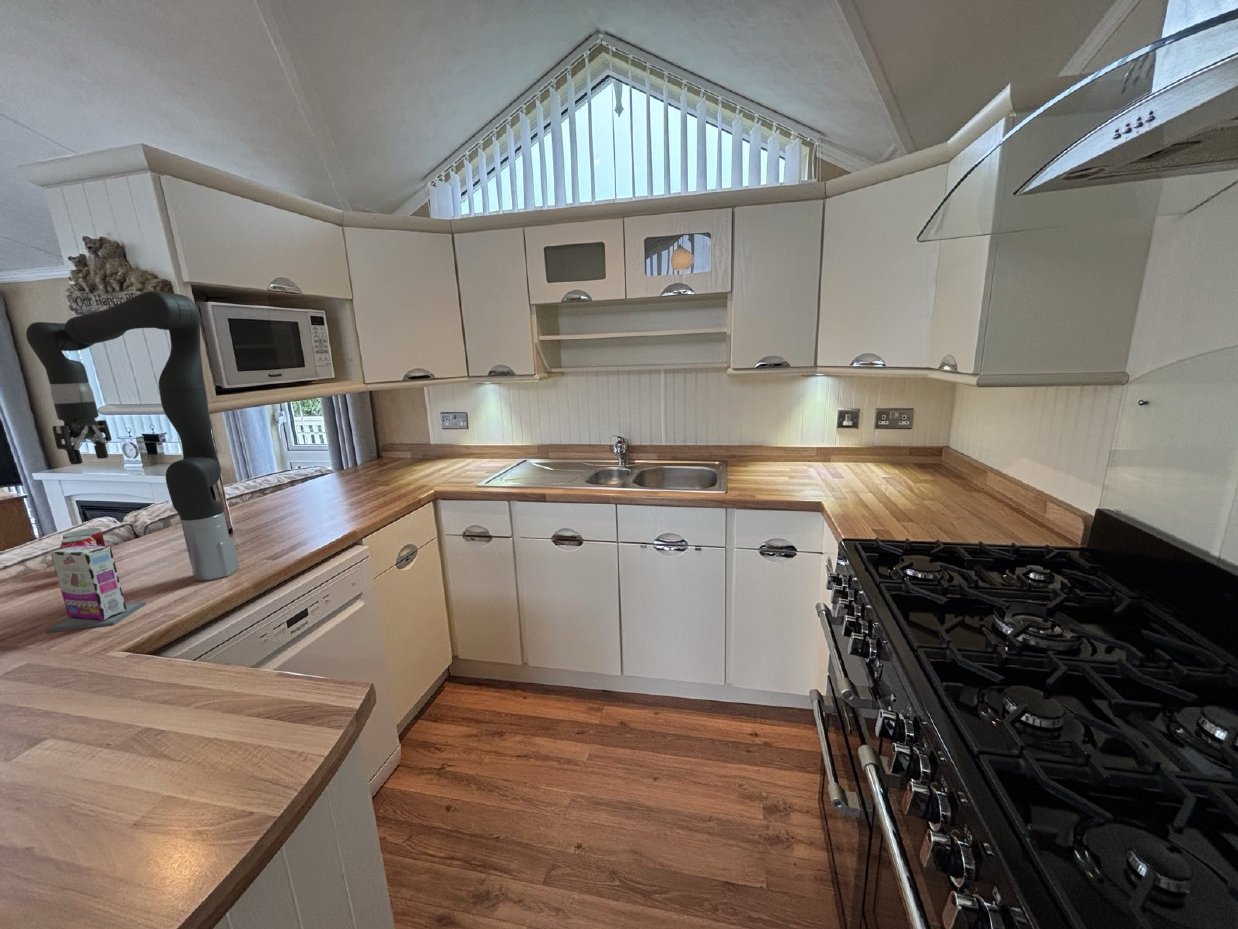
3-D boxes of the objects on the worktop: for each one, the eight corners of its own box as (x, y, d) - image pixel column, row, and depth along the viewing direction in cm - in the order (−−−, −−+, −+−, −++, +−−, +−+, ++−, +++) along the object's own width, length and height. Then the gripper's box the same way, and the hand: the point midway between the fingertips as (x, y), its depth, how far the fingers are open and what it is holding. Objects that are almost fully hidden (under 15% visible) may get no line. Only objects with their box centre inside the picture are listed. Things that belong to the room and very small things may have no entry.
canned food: (82, 564, 150) (72, 530, 148) (116, 560, 153) (107, 526, 151) (65, 574, 143) (54, 538, 141) (101, 569, 146) (91, 533, 143)
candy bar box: (129, 610, 117) (112, 545, 114) (104, 621, 113) (85, 553, 109) (93, 607, 120) (75, 543, 116) (67, 618, 115) (47, 551, 111)
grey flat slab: (145, 604, 122) (145, 601, 122) (114, 624, 112) (113, 621, 112) (83, 611, 119) (82, 608, 119) (45, 633, 110) (44, 630, 110)
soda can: (103, 571, 144) (93, 532, 142) (106, 576, 140) (95, 536, 137) (68, 579, 139) (56, 539, 137) (70, 586, 135) (58, 544, 132)
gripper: (68, 402, 125) (84, 465, 128) (112, 398, 138) (126, 455, 142) (32, 403, 123) (50, 467, 127) (80, 399, 137) (95, 457, 140)
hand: (90, 461), depth 134 cm, fingers open, 8 cm apart
